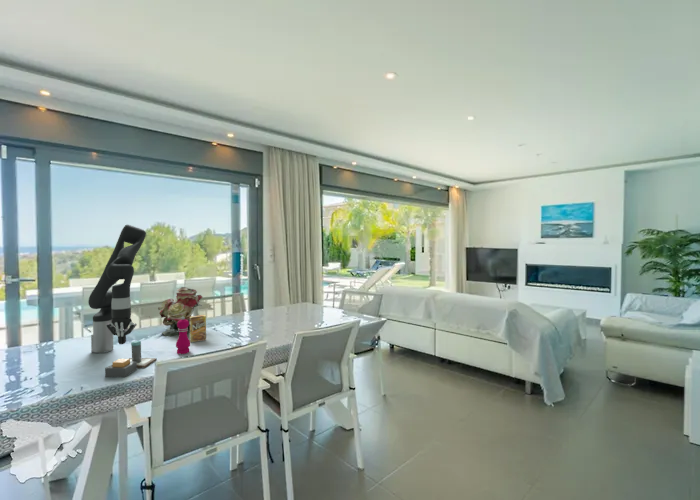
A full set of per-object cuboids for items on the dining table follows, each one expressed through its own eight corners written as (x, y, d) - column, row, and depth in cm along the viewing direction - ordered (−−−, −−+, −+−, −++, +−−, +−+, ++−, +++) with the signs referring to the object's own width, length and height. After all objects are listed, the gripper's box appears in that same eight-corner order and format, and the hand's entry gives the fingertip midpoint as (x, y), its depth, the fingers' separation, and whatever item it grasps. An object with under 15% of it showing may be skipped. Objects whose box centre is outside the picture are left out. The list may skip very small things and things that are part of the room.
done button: (112, 371, 161) (112, 362, 161) (119, 367, 166) (119, 358, 166) (123, 371, 161) (123, 362, 161) (130, 367, 166) (130, 358, 166)
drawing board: (115, 367, 170) (115, 365, 170) (129, 360, 181) (129, 357, 181) (144, 368, 170) (144, 365, 170) (156, 360, 181) (156, 358, 181)
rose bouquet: (160, 328, 244) (160, 285, 243) (205, 325, 253) (205, 284, 252) (152, 338, 220) (152, 290, 219) (202, 334, 229) (202, 289, 228)
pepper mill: (176, 355, 189) (175, 318, 188) (175, 351, 196) (175, 315, 195) (190, 353, 192) (190, 317, 192) (189, 349, 199) (189, 314, 198)
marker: (130, 363, 174) (129, 343, 173) (134, 360, 178) (134, 340, 177) (138, 363, 174) (138, 343, 173) (143, 360, 178) (142, 340, 178)
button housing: (105, 377, 159) (105, 368, 159) (117, 369, 168) (117, 361, 168) (125, 377, 159) (125, 368, 159) (136, 369, 168) (136, 361, 168)
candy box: (190, 342, 212) (190, 317, 211) (189, 340, 215) (189, 316, 215) (206, 340, 217) (206, 315, 216) (204, 338, 220) (204, 314, 220)
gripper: (140, 305, 167) (141, 341, 167) (112, 305, 166) (112, 341, 167) (130, 308, 159) (131, 346, 160) (101, 308, 159) (102, 346, 160)
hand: (122, 343), depth 163 cm, fingers closed
